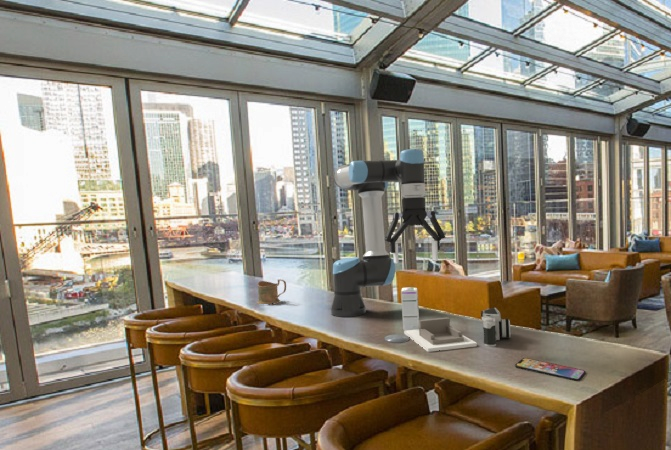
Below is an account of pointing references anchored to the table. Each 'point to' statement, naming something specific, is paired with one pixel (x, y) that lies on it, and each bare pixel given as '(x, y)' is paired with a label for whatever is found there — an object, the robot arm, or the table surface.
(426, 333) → the bracket board
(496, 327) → the camera
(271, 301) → the mug
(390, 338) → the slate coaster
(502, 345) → the table surface
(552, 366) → the smartphone
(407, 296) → the syrup box
